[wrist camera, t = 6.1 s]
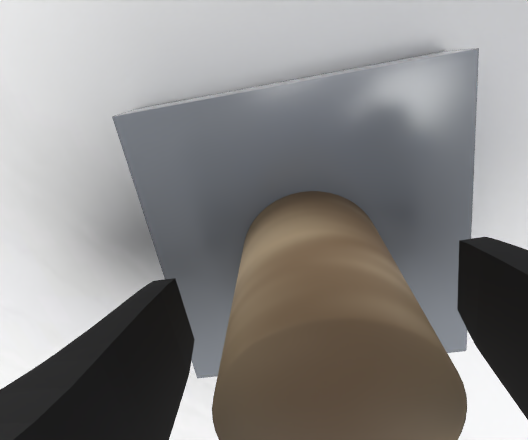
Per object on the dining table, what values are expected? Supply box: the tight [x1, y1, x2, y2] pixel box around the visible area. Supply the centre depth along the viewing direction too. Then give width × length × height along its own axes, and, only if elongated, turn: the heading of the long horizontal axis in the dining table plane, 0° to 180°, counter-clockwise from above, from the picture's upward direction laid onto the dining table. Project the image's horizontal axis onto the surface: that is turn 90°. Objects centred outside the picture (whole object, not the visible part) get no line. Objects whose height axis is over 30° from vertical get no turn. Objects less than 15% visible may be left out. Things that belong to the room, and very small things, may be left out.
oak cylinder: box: [212, 191, 467, 440], centre depth 9 cm, size 4×4×6 cm
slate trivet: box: [113, 48, 479, 378], centre depth 13 cm, size 10×10×2 cm
